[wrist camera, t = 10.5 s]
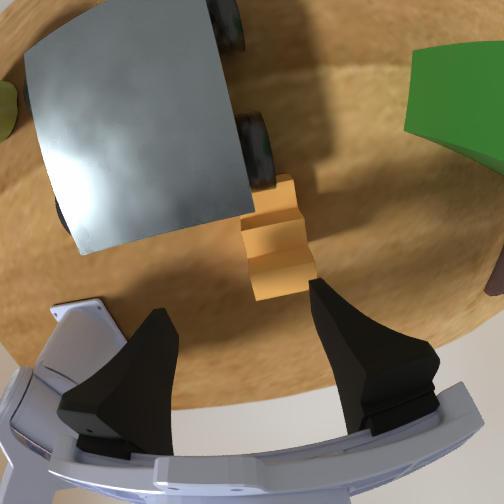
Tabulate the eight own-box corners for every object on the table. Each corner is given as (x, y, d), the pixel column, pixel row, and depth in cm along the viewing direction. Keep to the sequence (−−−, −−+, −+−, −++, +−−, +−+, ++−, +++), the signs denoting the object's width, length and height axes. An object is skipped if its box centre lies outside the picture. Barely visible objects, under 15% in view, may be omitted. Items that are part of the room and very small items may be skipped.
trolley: (270, 177, 19) (284, 206, 14) (102, 222, 20) (65, 260, 15) (229, 1, 13) (227, -38, 7) (58, 69, 13) (9, 66, 8)
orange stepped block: (299, 244, 22) (317, 287, 17) (251, 254, 22) (256, 300, 17) (287, 173, 19) (307, 198, 14) (234, 184, 20) (233, 213, 14)
